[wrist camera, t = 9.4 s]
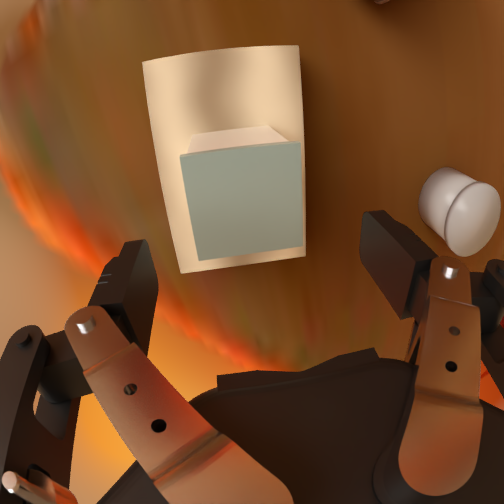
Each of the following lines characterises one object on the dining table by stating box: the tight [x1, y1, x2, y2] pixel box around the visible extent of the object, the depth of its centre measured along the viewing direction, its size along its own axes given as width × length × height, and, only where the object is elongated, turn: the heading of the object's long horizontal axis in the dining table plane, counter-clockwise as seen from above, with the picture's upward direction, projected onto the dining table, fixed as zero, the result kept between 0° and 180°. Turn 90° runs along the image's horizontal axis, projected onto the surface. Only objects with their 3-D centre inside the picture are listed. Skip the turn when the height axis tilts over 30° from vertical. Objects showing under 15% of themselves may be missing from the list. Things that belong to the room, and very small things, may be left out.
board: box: [142, 46, 306, 273], centre depth 22 cm, size 10×16×4 cm, turn 5°
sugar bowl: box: [418, 167, 501, 257], centre depth 26 cm, size 8×8×6 cm
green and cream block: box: [179, 126, 303, 261], centre depth 18 cm, size 5×5×7 cm
